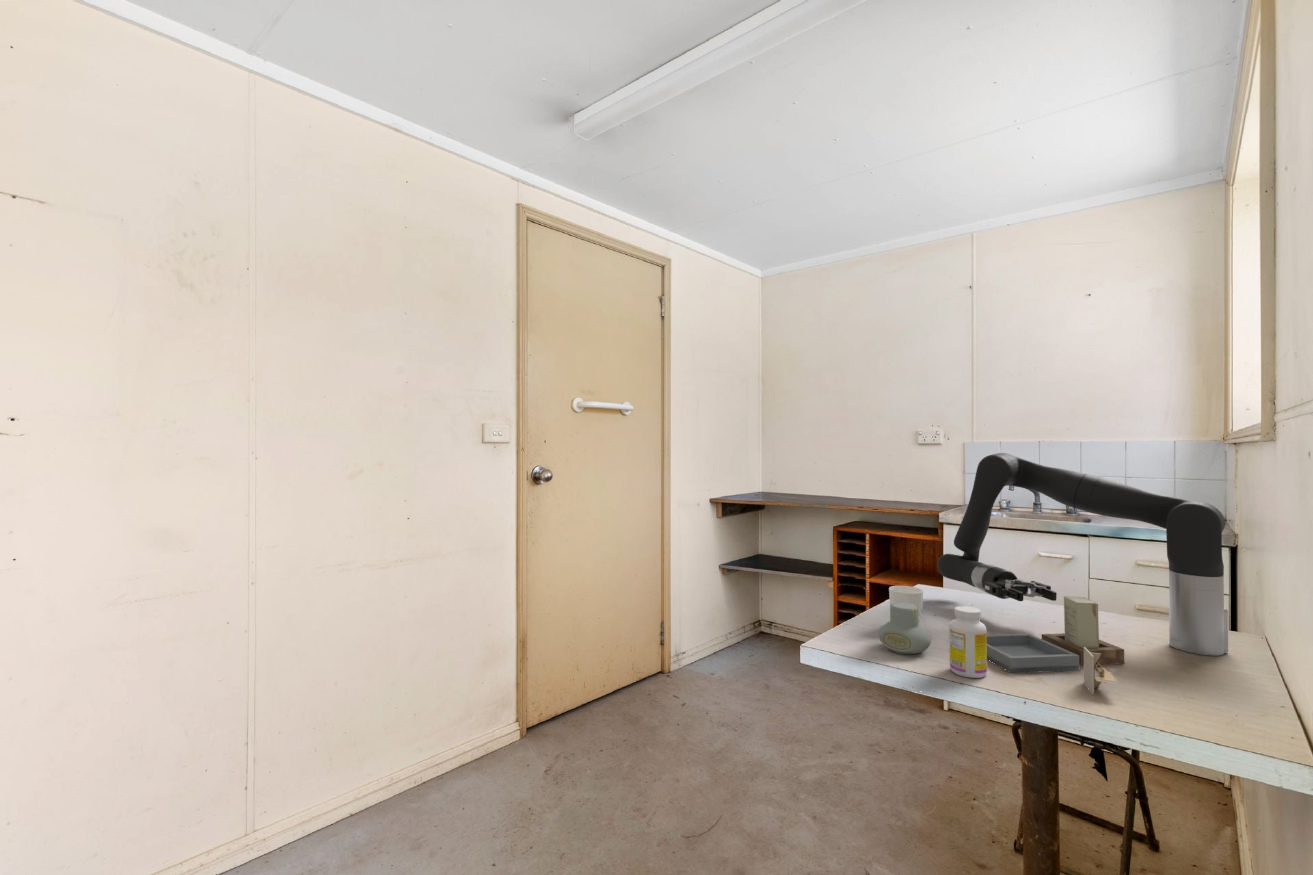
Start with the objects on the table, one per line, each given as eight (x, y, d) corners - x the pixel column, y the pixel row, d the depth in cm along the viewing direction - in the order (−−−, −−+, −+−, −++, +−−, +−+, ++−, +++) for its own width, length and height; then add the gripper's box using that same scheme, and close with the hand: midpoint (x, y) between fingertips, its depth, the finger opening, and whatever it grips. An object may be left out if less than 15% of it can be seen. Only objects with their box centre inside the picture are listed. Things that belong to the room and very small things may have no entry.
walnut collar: (1082, 646, 137) (1082, 632, 137) (1124, 663, 126) (1124, 649, 126) (1041, 647, 136) (1041, 634, 136) (1080, 665, 125) (1080, 651, 125)
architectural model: (1104, 687, 115) (1104, 648, 115) (1117, 702, 108) (1117, 661, 108) (1083, 685, 116) (1083, 646, 116) (1094, 699, 110) (1094, 658, 110)
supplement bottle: (985, 670, 122) (985, 607, 123) (988, 681, 116) (988, 615, 117) (949, 664, 125) (949, 603, 125) (950, 676, 119) (949, 611, 119)
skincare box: (1100, 661, 127) (1100, 603, 127) (1077, 659, 128) (1077, 602, 128) (1085, 651, 134) (1084, 596, 134) (1063, 649, 135) (1063, 595, 135)
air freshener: (936, 651, 133) (936, 606, 133) (922, 661, 127) (922, 614, 127) (887, 640, 141) (887, 597, 141) (872, 649, 135) (872, 604, 135)
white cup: (925, 628, 150) (925, 588, 150) (920, 636, 143) (920, 594, 144) (892, 623, 154) (892, 584, 154) (886, 631, 148) (885, 590, 148)
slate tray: (1029, 647, 136) (1029, 633, 136) (1079, 670, 122) (1079, 655, 122) (967, 649, 135) (967, 635, 135) (1010, 673, 121) (1010, 658, 121)
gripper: (969, 566, 159) (1011, 581, 143) (1019, 566, 160) (1066, 580, 144) (968, 595, 159) (1010, 613, 143) (1018, 594, 160) (1066, 612, 144)
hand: (1038, 596), depth 143 cm, fingers open, 8 cm apart
